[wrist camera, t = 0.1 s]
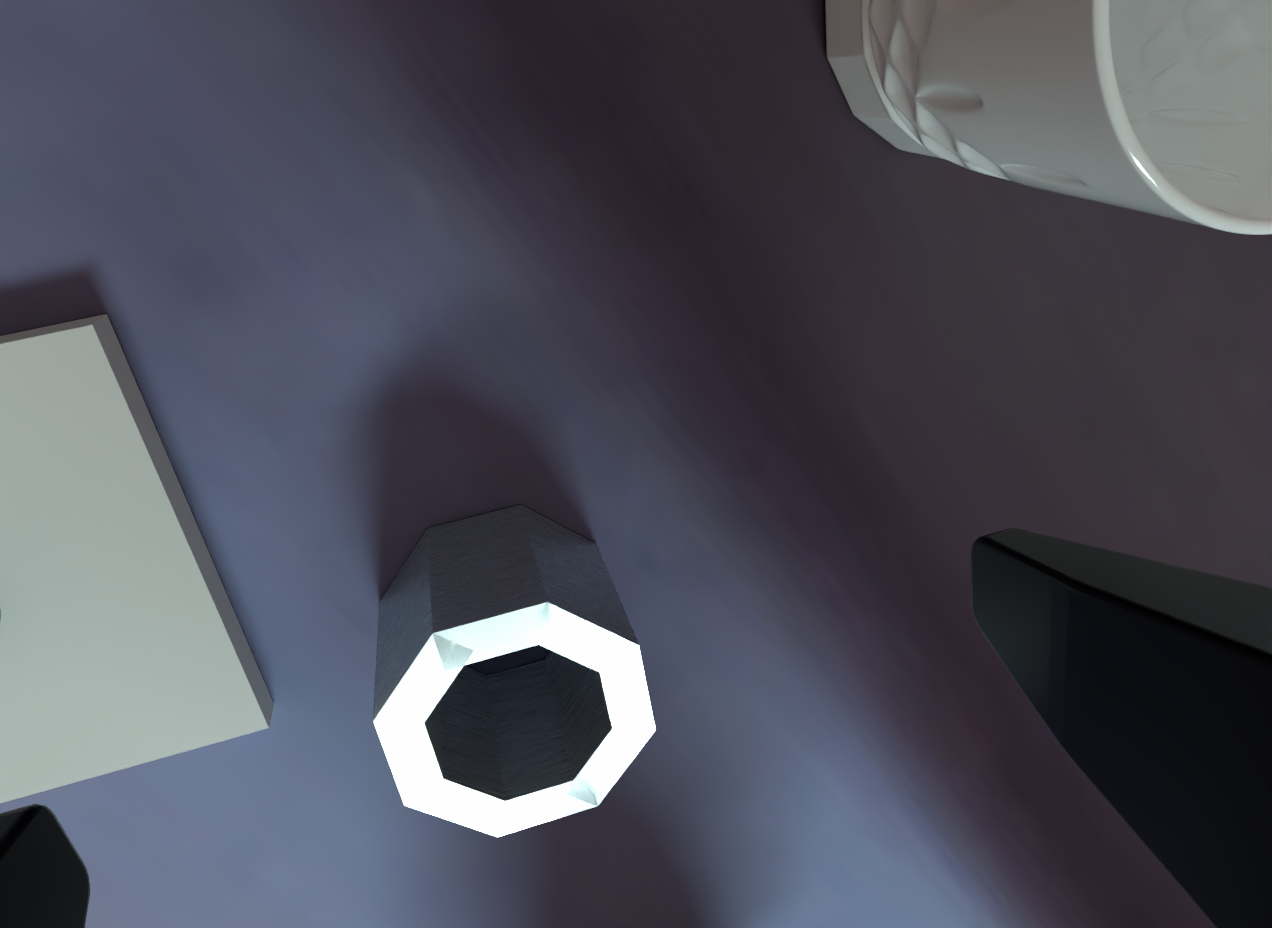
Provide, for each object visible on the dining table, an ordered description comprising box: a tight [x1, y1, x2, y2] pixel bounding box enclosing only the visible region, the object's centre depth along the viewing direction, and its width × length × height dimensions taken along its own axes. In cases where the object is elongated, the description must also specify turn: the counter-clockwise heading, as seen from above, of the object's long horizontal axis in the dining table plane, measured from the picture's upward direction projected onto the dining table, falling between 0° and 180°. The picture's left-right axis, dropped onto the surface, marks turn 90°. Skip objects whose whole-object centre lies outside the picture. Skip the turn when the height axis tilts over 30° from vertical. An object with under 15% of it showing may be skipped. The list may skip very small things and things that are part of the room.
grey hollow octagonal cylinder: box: [373, 504, 656, 837], centre depth 22 cm, size 6×6×5 cm
